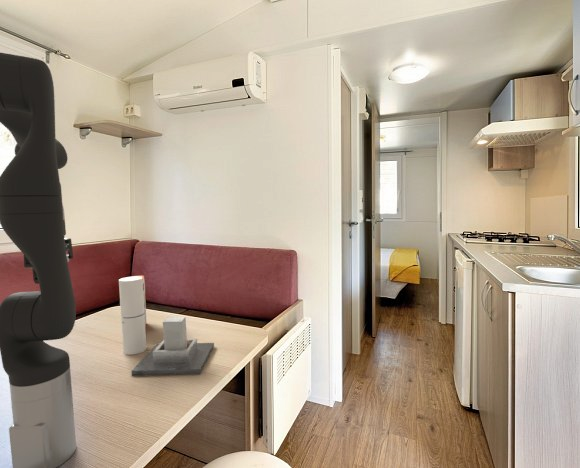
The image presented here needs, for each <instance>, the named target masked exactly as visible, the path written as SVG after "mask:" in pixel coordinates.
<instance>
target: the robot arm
mask: <svg viewBox="0 0 580 468" xmlns="http://www.w3.org/2000/svg"><path fill="white" fill-rule="evenodd" d="M55 102H56V100H55V87H54V81H53V75H52V72H51V70H50V68H49V66H48V64H47V63H46V62H45V61H44V60H41V59H39V58H34V57H29V56H23V55H19V54H17V55H16V54H11V53H5V52H0V124H1V125H3V127H5V128H6V129H7V130H8V131H9V133H10V134H12V137H13V138H14V140H15V142H16V144H15V147H14V154H15V156H14V157H13V158H12V159H11V161H10V162H9V163H8V165H7V166H6V167H5V169H4V170H3V172H2V173H1V174H0V227H1V228H2V230H3V231H4V232H5V234H6V235H7V237H8V238H9V239H10V240H11V242H12V243H13V244H14V245H15V246H16V247H17V249H19V250H20V252H21V253H22V255H23V266H24V268H25V269H31V271H32V278H33V282H34V284H37V285H38V284H39V290H38V291H37V290H36V291H20V292H14V293H12V294H9V295H7V296H6V297H5V298H4V299H3V300H2V302H1V303H0V358H1V364H2V368H3V370H4V372H5V373H6V374H7V376H8V382H9V392H10V402H11V403H10V405H11V412H12V423H13V424H12V425H11V426H10V427H8V433H9V434H8V435H9V443H10V445H9V446H10V454H11V455H10V456H11V463H12V465H11V466H12V468H58V467H60V466H61V465H62V464H64V463H65V462H67V461H68V460H69V459H70V458H71V457H72V456H73V455H74V453H75V451H76V450H77V439H76V437H77V436H76V424H75V413H74V411H75V410H74V400H73V389H72V376H71V375H72V374H71V362H70V355H69V353H68V352H67V351H65V350H64V349H61V348H58V347H55V346H52V345H50V344H48V343H47V342H45V341H54V340H55V341H56V340H61V339H64V338H66V337H68V336H69V335H70V334H71V332H72V331H73V329H74V326H75V323H76V315H77V309H76V307H77V306H76V299H75V293H74V289H73V288H74V287H73V283H72V282H73V281H72V277H71V273H70V267H69V262H70V260H72V259H73V258H74V253H73V244H72V242H73V241H72V238H67V237H65V236H66V235H67V232H66V231H67V230H66V229H67V228H66V218H65V208H64V203H63V195H62V194H63V193H62V185H61V181H60V174H59V169H62V168H64V167H65V166H67V163H68V152H67V150H66V149H65V147H64V145H63V144H62V143H61V142H60V141H59V140H58V139H57V138H56V111H55V110H56V108H55V107H56V105H55Z"/></svg>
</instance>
